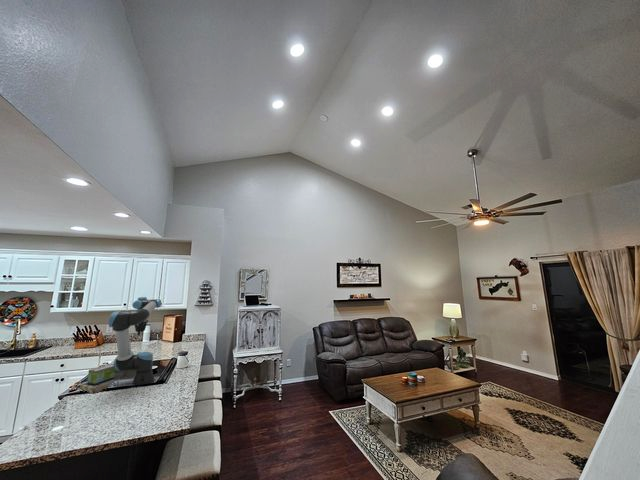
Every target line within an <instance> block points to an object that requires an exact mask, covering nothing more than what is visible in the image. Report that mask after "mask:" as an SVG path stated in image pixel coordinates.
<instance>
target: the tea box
mask: <svg viewBox="0 0 640 480" xmlns="http://www.w3.org/2000/svg"><path fill="white" fill-rule="evenodd" d="M87 374H88V375H87V382H86V383H87V386H92V387H97V386H100V385H103V384H106V383H108V386H110V385H109V384H111V385H113V384H112V383H114V384H115V378H116V376H115V375H116V370H115V368H114V364H105V365H102V366H98V367H93V368H91V369H88V373H87Z"/></svg>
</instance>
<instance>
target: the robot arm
mask: <svg viewBox="0 0 640 480" xmlns="http://www.w3.org/2000/svg"><path fill="white" fill-rule="evenodd" d="M161 306H162V300H161V299H148V298H147V296H140V297H138V298H137V300H135V301H133V302H132V308H133V309H135V310H119V311H118V310H117V311H113V312H112V313H111V314H110V316H109V319H108V327H110V328H112V330H113V331H114V332H115V339H116V346H117V347H116V348H117V355H116V357H115V358H114V360H113V365H114V368H115V372H124V371H125V372H126V371H135V374H134V377H133V379H132V385H134V386H141V385H147V384H150V383H152V382H153V381H154V380H155V375H154V373H153V363H154V362H153V360H154V357H153V356H154V354H153V353H152V352H150V351H141V352H140V351H139V352H137V354H134V352H133V351H132V347H131V339H130V337H131V336H130V330H129V328H131V326H134V330H135V332H136V333H137V337H138V340H142V337H143V335H144V334H143V333H144V331H146V328H147V325H148V321H149V319H148V318H149V317H150V315H151V313H152V312H154V310H156V308H160V307H161Z"/></svg>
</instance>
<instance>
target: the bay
mask: <svg viewBox="0 0 640 480" xmlns="http://www.w3.org/2000/svg"><path fill="white" fill-rule="evenodd" d="M105 388H108V389H109V385H108V383H106V384H103V385H100V386H97V387H92V386H87V382H84V383H81V384H79V390H80V389H81V390H85V391H87V392H86V393H89V394H96V393H99V392H103V391H104V390H103V389H105ZM81 390H80V391H81ZM102 390H103V391H102ZM105 390H106V389H105ZM85 391H84V392H85Z"/></svg>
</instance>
